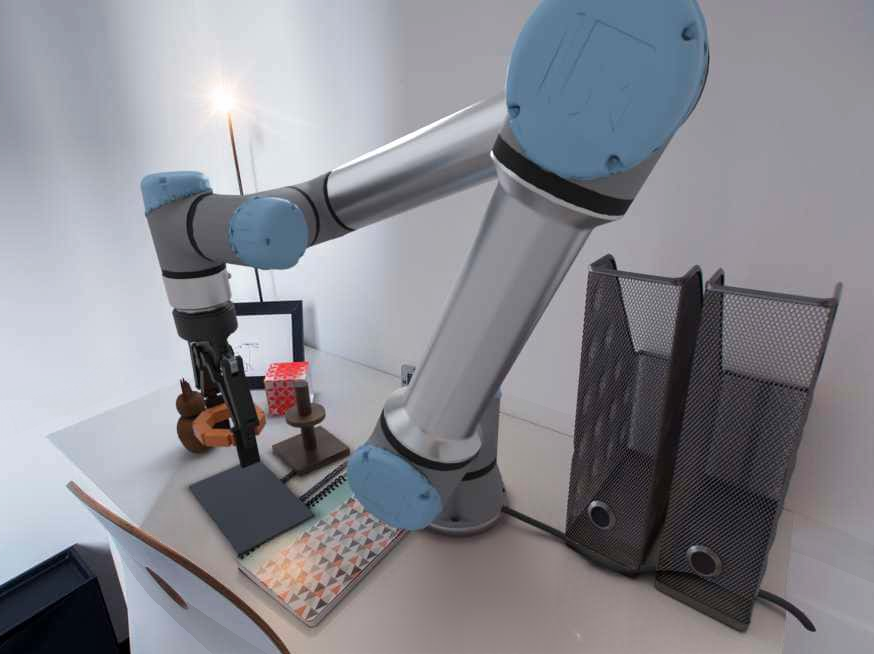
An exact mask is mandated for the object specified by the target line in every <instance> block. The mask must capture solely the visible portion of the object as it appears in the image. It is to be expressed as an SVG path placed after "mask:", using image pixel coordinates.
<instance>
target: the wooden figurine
mask: <svg viewBox="0 0 874 654" xmlns="http://www.w3.org/2000/svg"><path fill="white" fill-rule="evenodd" d="M179 383H180V384H179V385H180V389H181V393H180V394H178V396H177V397H176V399H175V408H176V411H177V413H178V414H179V415H180V416H179V418H178V420H177V422H176V435H177V438H178V440H179V441H180V443H181V445H182V446H183V447H184V448H185V450H187V451H188V452H189V453H191V454H195V455H201V454H205V453H207V452H208V451H210V450H212V449H213V448H214V447H213V446H206V445H203V444H202V443H201V442H200V441H199V439H198V438H197V437H196V436H195V434H194V430H193V426H192V425H193V422H194V421H195V420H196V418H197V417H198V416H199V415H200V414H201V413H202V411H206V407H205V403H204V400H206V398H203V397H202V396H201V391H198V390H193V389H192V386H191V385H190V382H188V381H187V380H185V378H184V377H182V379H179Z"/></svg>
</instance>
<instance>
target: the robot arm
mask: <svg viewBox="0 0 874 654" xmlns="http://www.w3.org/2000/svg"><path fill="white" fill-rule="evenodd" d="M708 38H709V35H708V28H707V23H706V19H705V16H704V13H703V12H702V10H701V7H700V4H699V2H698V1H697V0H542V1H540V2H539V4H538V5H537V6H536V7H535V9H534V10H533V11H532V13H531V14H530V15H529V17H528V18H527V19H526V21H525V23H524V25H523V27H522V28H521V30H520V32H519V34H518V36H517V38H516V40H515V43H514V46H513V48H512V50H511V53H510V57H509V60H508V65H507V69H506V76H505V77H506V78H505V83H504V84H505V87H504V90H501V91H500V92H497V93H495V94H493V95H491V96H488V97H487V98H484V99H481V101H478V102H476V103H474V104H472V105H470V106H467V107H465V108H462V109H461V110H459V111H457V112H455V113H452V114H450V115H448V116H446V117H444V118H441V119H439V120H437V121H434V122H433V123H431V124H429V125H426V126H424V127H422V128H420V129H418V130H416V131H414V132H412V133H411V132H410V133H409V134H407V135H405V136H403V137H400V138H398V139H397V140H394V141H392V142H390V143H387V144H386V145H384V146H381V147H379V148H376V149H375V150H373V151H370V152H368V153H366V154H364V155H362V156H360V157H358V158H355V159H353V160H351V161H349V162H347V163H345V164H342V165H340V166H338V167H336V168H334V169H332V170H330V171H327V172H325V173H323V174H321V175H320V174H319V176H316V177H314V178H312V179H310V180H307V181H304V182H300V183H296V184H292V185H287V186H282V187H278V188H273V189H267V190H262V191H258V192H253V193H249V194H221V193H214V190H213V187H212V186H211V183H210V179H209V177H208V176H207V174H205V173H204V172H202V171H198V170H175V171H163V172H155V173H151V174H147V175H145V176H143V177H142V179H141V181H140V185H139V186H140V191H141V198H142V202H143V207H144V216H145V218H146V221H147V225H148V229H149V231H150V235H151V239H152V243H153V246H154V249H155V253H156V257H157V261H158V264H159V267H160V270H161V278H162V283H163V286H164V289H165V292H166V297H167V301H168V304H169V306H170V307H171V308H173V309H172V311H171V314H172V318H173V322H174V326H175V330H176V333H177V335H178V337H179V338H180V339H181V340H183V341H186V342H187V345H188V349H189V355H190V361H191V367H192V373H193V378H194V386H195V388H196V389H197V391H200V393H201V396H202V397H203V398H204V399H205V400H204V403H205V408H206V409H209V408H212V407H215V406H217V405H220V404H223V403H225V404H226V406H227V409H228V412H229V414H230V417H231V418H229V419H226V420H223V421H220V422H218V423H215V425H214V426H213V427H212V429H229V430H230V432H231V433H233V436H234V440H235V444H236V446H235V449H236V452H237V457H238V462H239V464H240V466H241V467H242V469H243V468H246V467H248V466H250V465H253V464H255V463H257V462H260V461H261V456H260V452H259V451H260V450H259V446H258V441H257V435H256V436H255V431H254V428H255V427H257V426H260V422H259V419H258V416H257V412H256V409H255V406H254V403H255V402H254V399H253V395H252V392H251V389H250V385H249V383H248V379H247V375H246V372H245V366H244V359H243V357H242V355H241V354H238V355H236V354H235V351H234V348H233V346H232V344H231V343H230V344H229V341H228V338H230V336H231V335H232V334H234V333H235V332H236V331H238V328H239V323H238V316H237V312H236V307H235V303H234V302H233V301H232V300H231V299H232V297H233V294H232V291H231V283H230V280H231V279H232V273H231V272H230V271H228V269H227V264H230V265H234V266H241V267H248V268H253V269H255V270H261V271H270V270H274V271H275V270H277V271H283V270H284V271H285V270H289V269H293V267H295V266H296V265H297V264H299V260H300V259H301V258H302V257H304V256H305V253H306V250H307V249H309V248H311V247H314V246H317V245H321V244H323V243H326V242H329V241H332V240H337V239H338V238H341V237H344V236H346V235H348V234H350V233H352V232H356V231H358V230H360V229H363V228H366V227H368V226H371V225H373V224H377V223H379V222H382V221H385V220H387V219H390V218H393V217H395V216H399V215H401V214H404V213H407V212H409V211H412V210H415V209H417V208H420V207H424V206H426V205H429V204H431V203H434V202H437V201H440V200H443V199H445V198H448V197H451V196H454V195H456V194H459V193H462V192H464V191H468V190H470V189H473V188H475V187H478V186H482V185H483V184H487V183H489V182H492V181H495V180H497V185H496V186H495V189H494V192H493V194H492V196H491V198H490V201H489V203H488V204H487V207H486V209H485V212H484V214H483V216H482V219H481V220H480V223H479V224H478V227H477V229H476V231H475V235H474V236H473V239H472V241H471V243H470V246H469V248H468V250H467V252H466V254H465V256H464V259H463V262H462V263H461V266H460V268H459V270H458V272H457V275H456V277H455V279H454V281H453V283H452V285H451V289H450V290H449V292H448V295H447V297H446V300H445V302H444V303H443V306H442V308H441V311H440V312H439V315H438V317H437V319H436V322H435V324H434V327H433V329H432V331H431V333H430V335H429V338H428V340H427V342H426V344H425V346H424V349H423V350H422V352H421V356H420V357H419V360H418V363H417V365H416V367H415V369H414V371H413V373H412V376H411V378H410V381H409V382H408V385H405V386H402V387H399V388H397V389H396V390H394V391H392V393H390V394H389V396H388V397H387V399H386V401H385V403H384V406H383V408H382V410H381V413H380V415H379V417H378V420H377V422H376V424H375V426H374V428H373V431H372V433H371V434H370V436H369V437H368V439H367V440H366V441H365V442H364V443H363V444H361V445H359V446H358V447H357V448H356V449H355V450H354V453H353V455H352V456H351V457H350V458H349V460H348V463H347V465H346V478H347V479H346V480H347V483H348V485H349V489H350V491H351V492H352V493H353V494H354V496H355V499H356V500H357V502H359V504H360V505H361V506H362V507H363V508H364V509H365V511H367V512H368V513H369V514H370V515H372V516H373V517H374V518H375V519H377V520H378V521H380V522H382V523H384V524H385V525H388V526H389V527H392V528H395V529H398V530H406V531H419V530H423V529H425V530H427V531H429V532H432V533H434V534H436V535H441V536H445V537H455V538H463V537H471V536H476V535H479V534H482V533H485V532H487V531H489V530H491V529H493V528H494V527H496V526H497V524H499V523H500V522H501V521H502V520H503V518H504V516H505V514H506V515H508V516H510V517H513V518H514V519H517V520H519V521H521V522H524V523H526V524H527V525H530V526H532V527H535V528H536V529H539V530H541V531H543V532H546V533H548V534H549V535H552V536H554V537H556V538H558V539H560V540H561V541H563V542H565V543H566V544H568V545H569V546H570V547H572V548H574V549H575V550H576V551H577V552H579V553H580V554H581V555H582V556H583V557H585V558H586V559H588V560H589V561H590V562H592V563H593V564H595V565H597V566H599V567H601V568H603V569H606V570H609V571H612V572H615V573H616V572H617V573H621V574H643V573H651V572H657V571H656V569H657V567H656V566H657V563H658V562H657V563H647V564H640V565H641V567H640V569H637V570H628V569H626V568H625V567H623V566H621V565H622V564H618V563H614V562H612V561H611V562H610V561H607V560H605V559H603V558H601V557H599V556H597V555H596V554H594V553H593V552H592V551H590V550H588V549H587V548H586V547H584V546H583V545H582V544H581V542H578V541H577V540H575V539H574V538H573V537H571V538H572V539H574V540H575V541H576V542H577V543H579V544H580V545H578V544H576V543H574V542H573V541H571V540H569V539H567V538H566V535H567V534H566V533H564V531H560V530H559V529H557V528H554V527H553V526H551V525H548V524H546V523H544V522H542V521H539V520H537V519H535V518H532V517H530V516H529V515H526V514H524V513H521V512H519V511H517V510H515V509H513V508H510V507H508V506H507V503H508V502H507V501H508V493H507V489H506V485H505V483H504V481H503V477H502V473H501V471H500V467H499V464H498V445H499V444H498V443H499V442H498V441H499V430H500V429H499V428H500V427H499V426H500V411H501V410H500V409H501V398H502V396H503V393H502V392H501V387H502V384H503V382H504V381H505V379H506V378H507V376H508V374H509V373H510V371H511V369H512V367H513V366H514V364H515V362H516V361H517V359H518V358H519V356H520V354H521V352H522V351H523V349H524V347H525V346H526V344H527V342H528V341H529V339H530V337H531V335H532V333H533V332H534V330H535V329H536V327H537V325H538V324H539V322H540V320H541V319H542V317H543V315H544V314H545V312H546V310H547V308H548V307H549V305H550V303H551V302H552V301H553V298H554V296H555V295H556V292H558V290H559V288H560V286H561V285H562V283H563V281H564V280H565V278H566V276H567V275H568V273H569V271H570V269H571V268H572V266H573V265H574V263H575V262H576V259H577V258H578V257H579V254H580V252H581V251H582V249H583V247H584V246H585V244H586V242H587V241H588V239H589V237H590V235H591V234H592V232H593V230H594V229H596V228H597V227H600V226H603V225H607V224H610V223H613V222H615V221H618V220H622V219H623V218H624V217H625V215H626V213H627V212H628V210H629V209H630V207H631V205H632V204H633V202H634V201H635V199H636V197H637V196H638V195H639V193H640V191H641V190H642V188H643V186H644V185H645V184H646V181H648V178H649V177H650V175H651V173H652V171H654V169H655V167H656V165H657V164H658V162H659V161H660V158H661V157H662V155H663V154H664V152H665V151H666V150H667V147H668V146H669V144H670V143H671V141H672V140H673V138H674V136H675V135H676V133H677V132H678V131H679V129H680V128H681V127H683V125H684V124H685V123H686V121H687V120H688V119H689V118H690V116H691V115H692V113H693V112H694V110H695V109H696V107H697V105H698V104H699V101H700V100H701V98H702V95H703V92H704V90H705V87H706V84H707V80H708V75H709V73H710V72H709V70H710V61H711V56H710V45H709V39H708ZM230 419H231V422H232V425H233V426H231V422H230ZM261 462H262V461H261ZM565 534H566V535H565ZM756 597H757V598H760V599H763V600H766V601H768V602H771V603H772V604H775V605H777V606H778V607H781V608H782V609H784V610H785V611H787V612H788V613H789V614H791V615H792V616H793V617H795V618H796V619H797V621H798V622H800V624H801V625H802V626H803V627H804V628H805V629H806V630H807V631H809V632H811V633H815V632H817V629H816V627H815V625H814V623H813V621H811V619H810V618H809V617H808V616H807V615H806V614H805V613H804V612H803V611H801V610H800V608H798V607H796V606H795V605H794V604H792V603H791V602H789V601H788V600H787V599H784V598H782V597H780V596H779V595H776V594H774V593H771V592H769V591H766V590H764V589H761V588H759V592H758V595H757V596H756Z"/></svg>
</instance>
